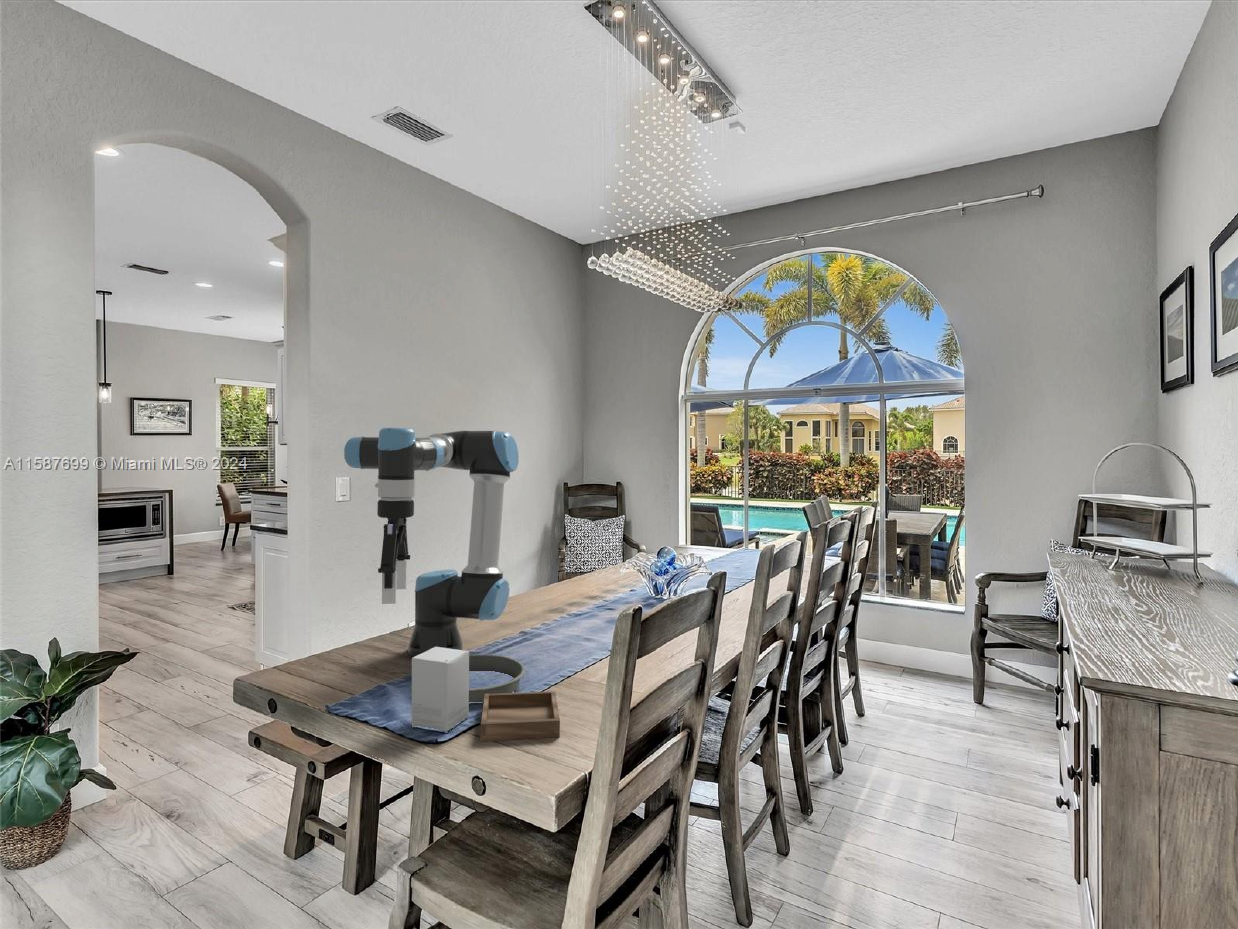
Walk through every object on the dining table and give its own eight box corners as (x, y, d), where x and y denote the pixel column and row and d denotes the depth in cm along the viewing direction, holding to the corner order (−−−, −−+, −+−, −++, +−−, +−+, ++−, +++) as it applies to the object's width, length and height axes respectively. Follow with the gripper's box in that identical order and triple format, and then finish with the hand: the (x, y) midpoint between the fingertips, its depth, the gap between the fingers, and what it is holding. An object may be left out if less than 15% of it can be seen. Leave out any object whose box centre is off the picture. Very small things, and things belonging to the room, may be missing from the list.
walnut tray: (484, 709, 144) (484, 694, 144) (554, 706, 147) (555, 691, 147) (480, 741, 129) (480, 724, 128) (559, 737, 131) (559, 720, 131)
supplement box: (470, 717, 140) (471, 650, 139) (446, 734, 131) (447, 663, 131) (435, 711, 143) (436, 645, 142) (409, 727, 134) (410, 657, 134)
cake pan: (403, 688, 156) (403, 670, 156) (484, 664, 175) (485, 648, 175) (462, 717, 140) (462, 697, 140) (545, 687, 159) (545, 669, 159)
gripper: (388, 494, 150) (387, 584, 150) (365, 503, 125) (363, 610, 126) (421, 494, 151) (420, 583, 152) (404, 504, 126) (403, 609, 127)
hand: (394, 596), depth 139 cm, fingers open, 13 cm apart
